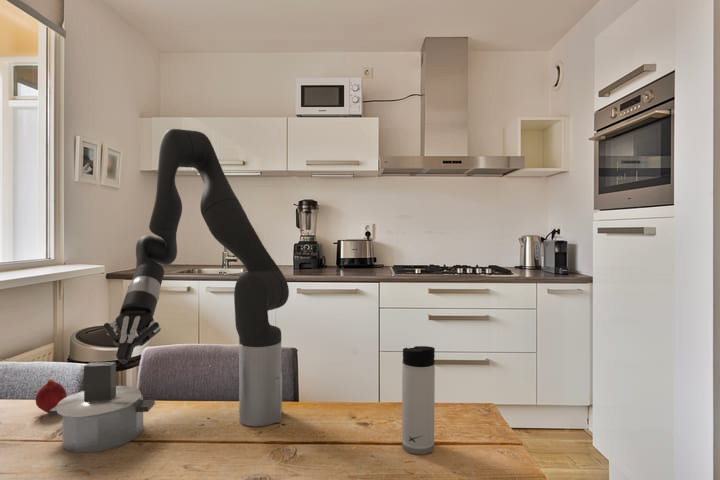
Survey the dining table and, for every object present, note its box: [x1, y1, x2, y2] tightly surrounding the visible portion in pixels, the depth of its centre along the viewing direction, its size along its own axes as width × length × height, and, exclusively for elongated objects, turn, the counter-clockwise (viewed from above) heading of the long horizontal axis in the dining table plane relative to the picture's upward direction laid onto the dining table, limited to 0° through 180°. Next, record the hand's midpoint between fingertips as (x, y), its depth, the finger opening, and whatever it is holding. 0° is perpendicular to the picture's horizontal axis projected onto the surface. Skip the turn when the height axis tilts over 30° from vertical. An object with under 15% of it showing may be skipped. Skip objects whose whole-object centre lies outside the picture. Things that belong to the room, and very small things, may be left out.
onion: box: [35, 377, 68, 414], centre depth 102 cm, size 6×6×8 cm
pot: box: [49, 393, 156, 454], centre depth 91 cm, size 19×14×7 cm
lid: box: [57, 361, 142, 418], centre depth 89 cm, size 15×15×8 cm
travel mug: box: [401, 345, 436, 456], centre depth 87 cm, size 6×7×20 cm
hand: (122, 360), depth 101 cm, fingers closed
